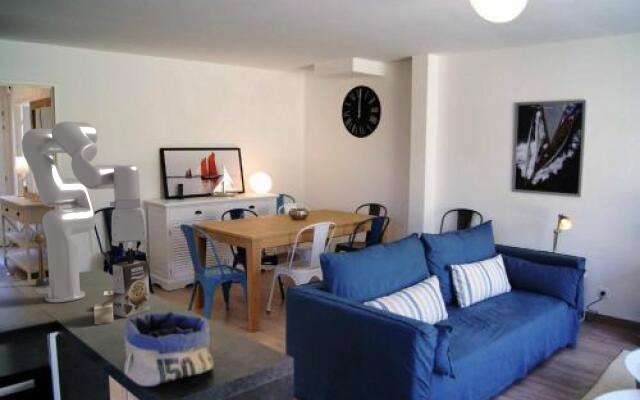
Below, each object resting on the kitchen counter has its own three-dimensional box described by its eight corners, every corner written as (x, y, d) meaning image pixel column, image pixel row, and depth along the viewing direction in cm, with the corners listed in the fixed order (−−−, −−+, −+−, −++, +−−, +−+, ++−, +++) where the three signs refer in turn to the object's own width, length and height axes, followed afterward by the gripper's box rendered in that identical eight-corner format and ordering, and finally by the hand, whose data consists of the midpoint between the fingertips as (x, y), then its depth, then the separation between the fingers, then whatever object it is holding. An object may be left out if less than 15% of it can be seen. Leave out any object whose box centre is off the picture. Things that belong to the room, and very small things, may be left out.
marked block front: (94, 325, 155) (94, 308, 154) (95, 320, 159) (95, 303, 159) (113, 323, 156) (112, 306, 156) (113, 318, 161) (112, 301, 160)
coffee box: (126, 318, 160) (124, 266, 159) (113, 314, 164) (111, 264, 162) (150, 310, 168) (148, 261, 167) (137, 307, 172) (135, 259, 170)
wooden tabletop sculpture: (35, 287, 199) (32, 235, 197) (30, 285, 202) (27, 234, 200) (51, 284, 203) (48, 233, 201) (46, 282, 206) (43, 232, 204)
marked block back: (104, 310, 169) (103, 294, 169) (105, 306, 174) (104, 290, 173) (120, 308, 171) (120, 293, 170) (120, 304, 176) (120, 289, 175)
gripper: (101, 207, 157) (104, 267, 158) (153, 204, 162) (156, 262, 163) (102, 205, 164) (105, 262, 165) (152, 202, 169) (155, 258, 170)
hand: (130, 262), depth 164 cm, fingers closed
